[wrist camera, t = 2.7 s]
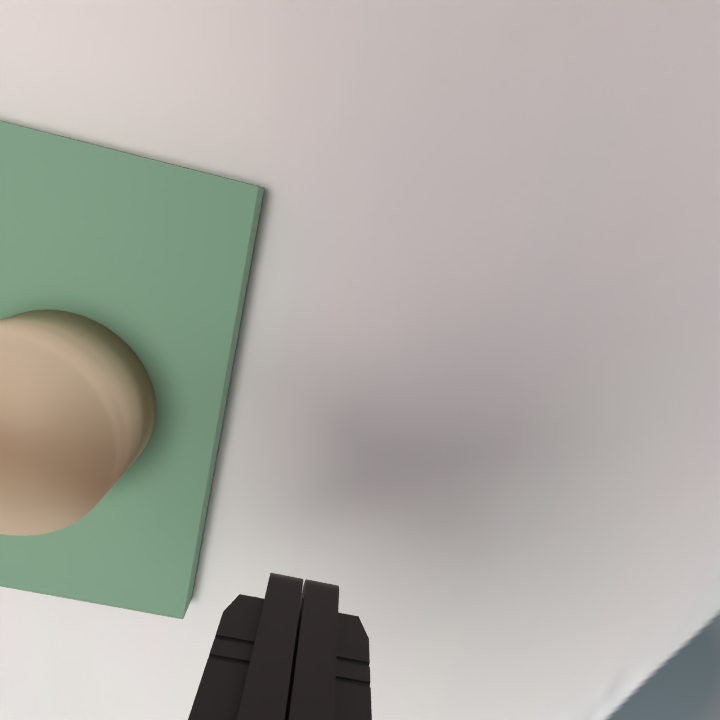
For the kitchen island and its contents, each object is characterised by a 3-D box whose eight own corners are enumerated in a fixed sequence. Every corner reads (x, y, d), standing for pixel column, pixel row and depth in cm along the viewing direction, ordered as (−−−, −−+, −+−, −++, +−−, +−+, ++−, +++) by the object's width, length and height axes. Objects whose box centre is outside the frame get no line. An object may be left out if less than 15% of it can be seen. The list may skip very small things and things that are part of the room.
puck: (-29, 288, 15) (-118, 306, 12) (168, 335, 16) (127, 363, 13) (-35, 460, 17) (-114, 511, 14) (143, 497, 17) (102, 554, 15)
